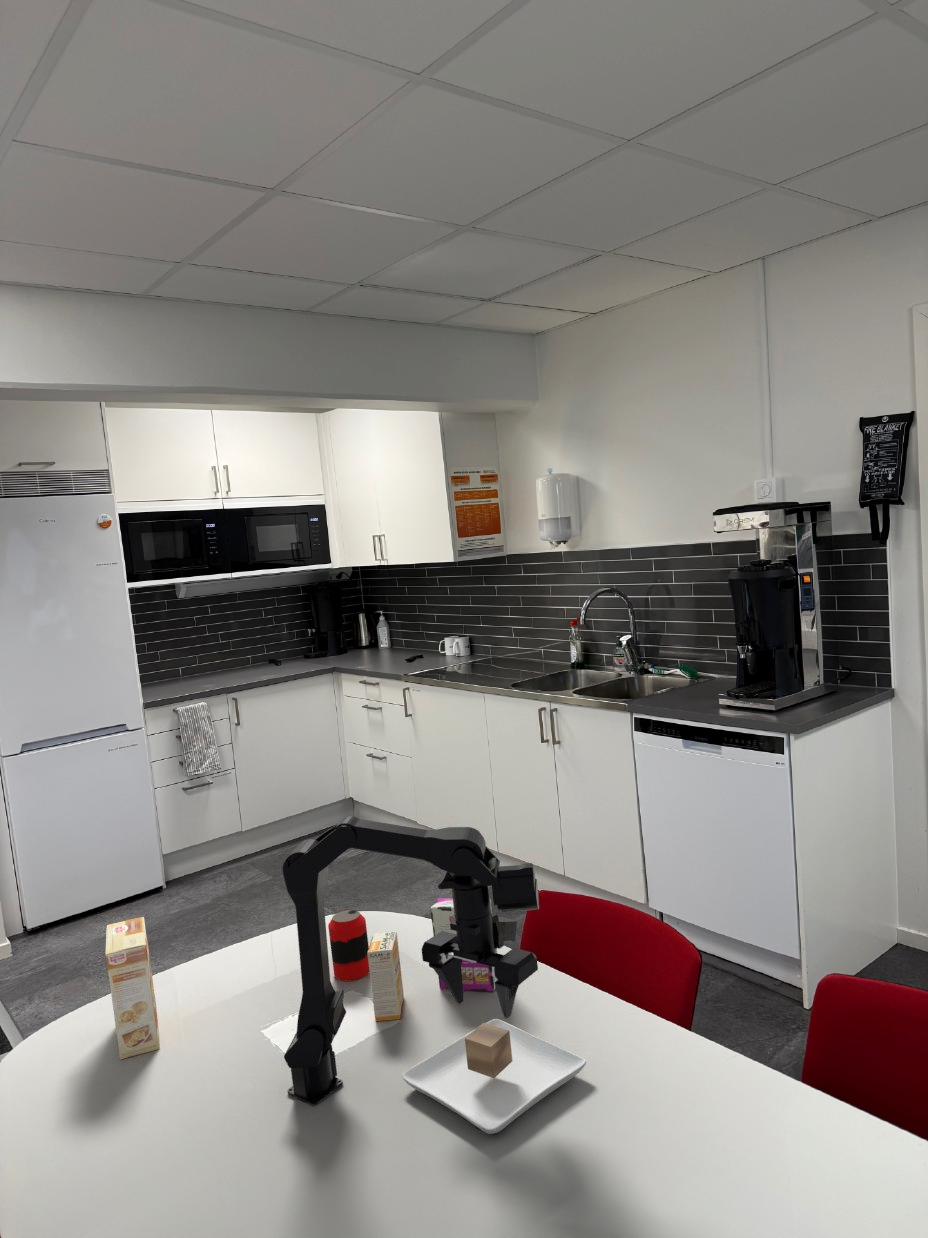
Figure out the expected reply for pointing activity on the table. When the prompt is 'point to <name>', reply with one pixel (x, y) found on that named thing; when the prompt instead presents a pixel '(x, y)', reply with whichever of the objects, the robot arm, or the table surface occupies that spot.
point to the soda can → (349, 945)
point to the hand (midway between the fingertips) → (483, 1009)
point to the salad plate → (495, 1079)
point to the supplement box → (385, 976)
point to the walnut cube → (488, 1050)
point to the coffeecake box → (132, 987)
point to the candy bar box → (472, 973)
